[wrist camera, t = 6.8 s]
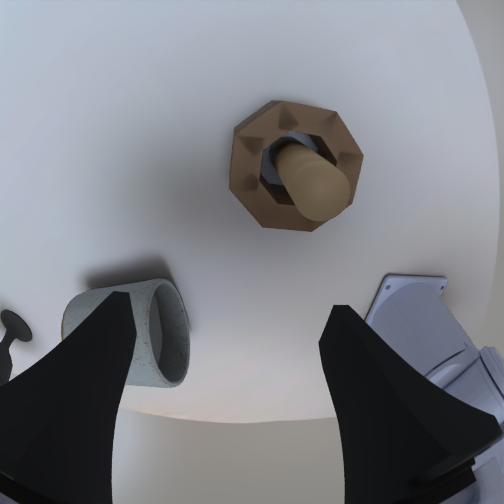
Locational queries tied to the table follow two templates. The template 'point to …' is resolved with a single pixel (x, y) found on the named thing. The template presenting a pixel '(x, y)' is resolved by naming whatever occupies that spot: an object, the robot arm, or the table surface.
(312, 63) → the table surface
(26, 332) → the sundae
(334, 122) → the bead
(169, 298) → the ceramic mug
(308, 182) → the dowel
